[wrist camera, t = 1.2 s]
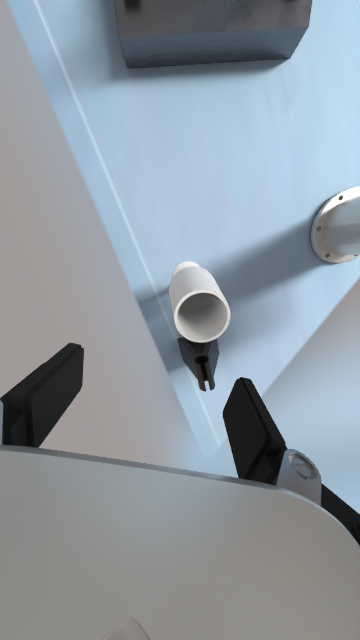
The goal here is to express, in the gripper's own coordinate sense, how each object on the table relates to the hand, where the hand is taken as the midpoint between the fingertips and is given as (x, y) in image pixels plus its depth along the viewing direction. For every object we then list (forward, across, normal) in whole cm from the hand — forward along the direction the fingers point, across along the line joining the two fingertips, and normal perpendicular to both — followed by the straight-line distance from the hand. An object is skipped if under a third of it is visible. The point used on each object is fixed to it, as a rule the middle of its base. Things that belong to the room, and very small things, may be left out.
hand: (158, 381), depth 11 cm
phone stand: (+30, -9, +12) cm, 33 cm away
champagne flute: (+30, -2, -3) cm, 30 cm away
